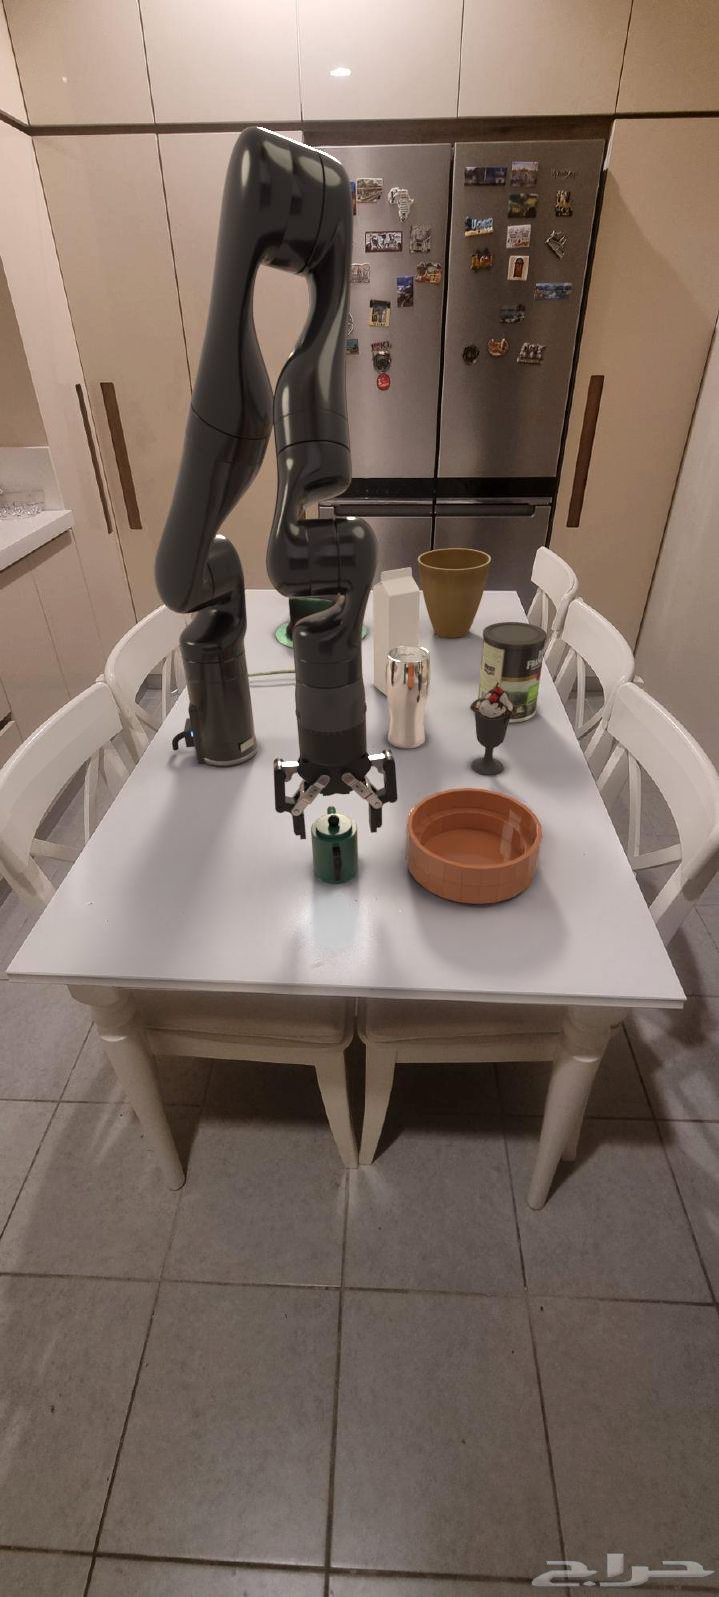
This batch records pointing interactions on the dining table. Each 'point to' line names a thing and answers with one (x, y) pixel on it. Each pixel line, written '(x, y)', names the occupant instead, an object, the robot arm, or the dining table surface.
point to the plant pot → (453, 588)
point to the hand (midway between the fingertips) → (337, 832)
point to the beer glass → (407, 694)
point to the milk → (394, 617)
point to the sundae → (491, 727)
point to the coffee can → (513, 664)
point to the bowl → (473, 845)
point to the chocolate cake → (305, 614)
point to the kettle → (334, 847)
